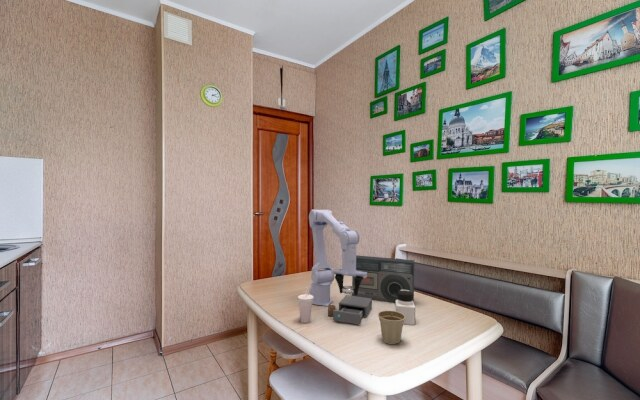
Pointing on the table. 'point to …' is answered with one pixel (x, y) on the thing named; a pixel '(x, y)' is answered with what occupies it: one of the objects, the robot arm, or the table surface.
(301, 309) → the smoothie
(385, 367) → the table surface
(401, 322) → the flower pot
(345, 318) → the tray
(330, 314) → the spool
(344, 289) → the disc
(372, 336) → the table surface
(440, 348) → the table surface
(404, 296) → the medicine bottle
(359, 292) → the cassette player
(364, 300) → the disc
